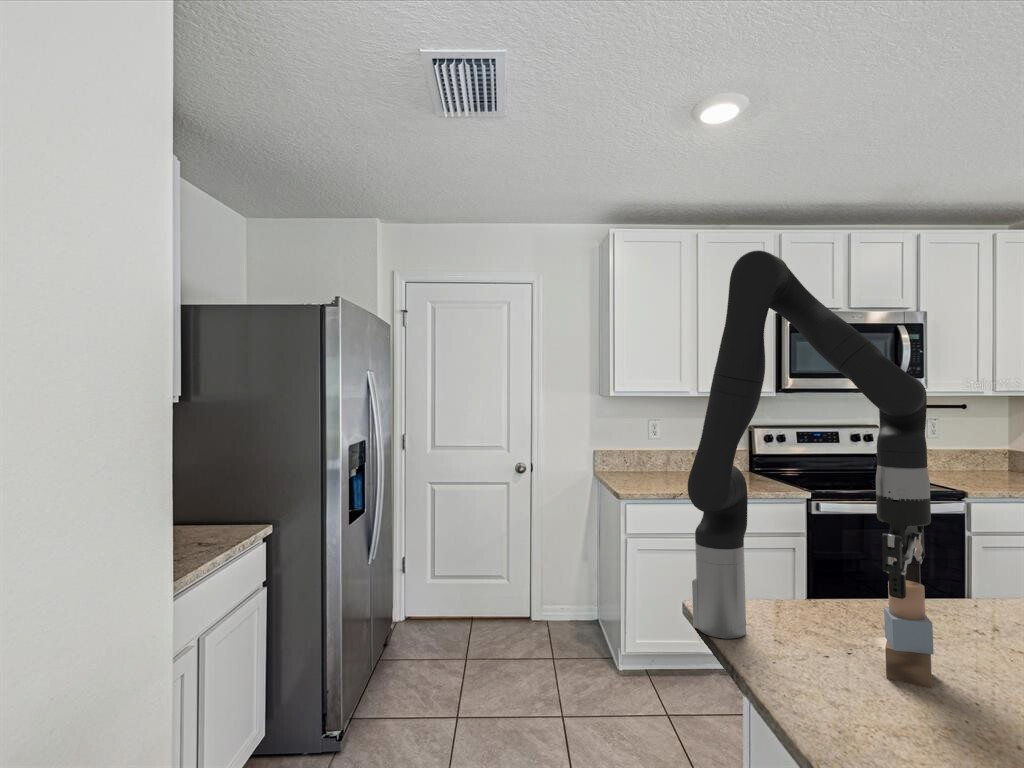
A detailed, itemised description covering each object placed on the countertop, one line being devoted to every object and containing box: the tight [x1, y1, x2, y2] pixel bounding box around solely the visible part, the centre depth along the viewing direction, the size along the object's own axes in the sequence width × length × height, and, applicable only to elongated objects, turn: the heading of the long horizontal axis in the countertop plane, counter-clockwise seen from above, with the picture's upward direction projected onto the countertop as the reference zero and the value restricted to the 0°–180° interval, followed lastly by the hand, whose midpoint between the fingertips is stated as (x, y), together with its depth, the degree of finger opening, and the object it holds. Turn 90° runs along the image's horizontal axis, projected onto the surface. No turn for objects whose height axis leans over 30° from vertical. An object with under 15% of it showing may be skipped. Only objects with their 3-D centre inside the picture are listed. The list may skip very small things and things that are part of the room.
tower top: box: [883, 607, 935, 656], centre depth 96 cm, size 6×6×5 cm
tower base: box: [884, 640, 933, 689], centre depth 96 cm, size 6×6×5 cm
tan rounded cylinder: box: [887, 580, 926, 620], centre depth 97 cm, size 5×5×5 cm
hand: (905, 591), depth 97 cm, fingers open, 8 cm apart
